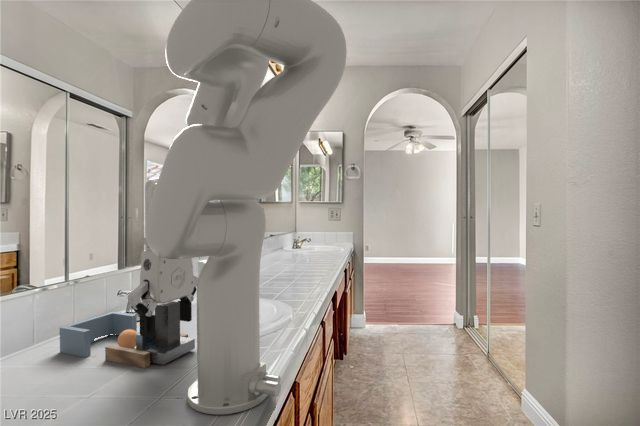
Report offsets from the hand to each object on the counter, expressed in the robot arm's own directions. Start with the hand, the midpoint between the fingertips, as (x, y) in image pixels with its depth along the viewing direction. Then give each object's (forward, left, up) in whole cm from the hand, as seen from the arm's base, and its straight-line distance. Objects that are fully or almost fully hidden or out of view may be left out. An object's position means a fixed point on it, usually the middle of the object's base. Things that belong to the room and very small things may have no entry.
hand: (167, 327), depth 74 cm
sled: (+1, 0, -5) cm, 5 cm away
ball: (+10, 0, -4) cm, 11 cm away
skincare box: (+10, -27, -6) cm, 29 cm away
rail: (+5, 0, -6) cm, 7 cm away
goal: (+18, 0, -6) cm, 19 cm away
